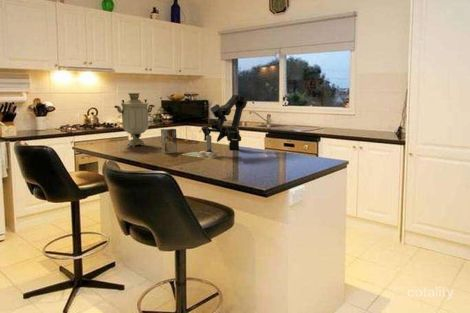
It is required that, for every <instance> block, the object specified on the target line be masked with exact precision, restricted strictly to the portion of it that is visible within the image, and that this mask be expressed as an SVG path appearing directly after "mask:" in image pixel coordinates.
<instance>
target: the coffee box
mask: <svg viewBox="0 0 470 313" xmlns="http://www.w3.org/2000/svg"><path fill="white" fill-rule="evenodd" d="M160 134H161V136H160V137H161V153H163V154H171V153H172V154H173V153H178V142H177V141H178V138H177V129H176V128H163V129H160Z"/></svg>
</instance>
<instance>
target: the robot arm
mask: <svg viewBox="0 0 470 313" xmlns="http://www.w3.org/2000/svg"><path fill="white" fill-rule="evenodd" d="M247 104H248V98H246V97H244V96H242V95H239V94H232V95H231V97H230V99H229V100H228V101H227V102H226V103H225V104H223V105H221V106H220V104H217V103H216V104H215V105H213V106H212V107H211V108H210V111H211V113H212V115H213V117H214V118H209V119H208V125H210V126H208V125H207V126H206V125H203V126H202V127H201V128H200V130H201V131H202V132H203V134H204V138H203V141H204V142H206V136H208V135H210V134H211V132H212V133H219V134H218V137H217V139H216V142H220V141H221V140H222V139H224V138H226V140H227V142H229V143H228V148H229V150H230V151H239V150H240V142H241V141H242V136H241V135H240V130H239V126H240V122H241V117H242V113H243V110H244V109H245V108H246V107H247ZM234 106H235V110H234V113H233V119H232V123H231V125H230V127H228V126H224V124H225V122H227V117H226V116H230V114H231V112H232V108H234Z"/></svg>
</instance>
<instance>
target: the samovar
mask: <svg viewBox="0 0 470 313" xmlns="http://www.w3.org/2000/svg"><path fill="white" fill-rule="evenodd" d="M127 94H128V95H129V98H130V99H129V100H127V101H125V99H122V100H121V102H120V104H121V106H120V105H114V106H113V107H114V108H115V109H116V110H117V112H118V113H119V114H121V121H122V129H123V130H124V132H126V133H128V134H130V135H131V138H132V139H131V140H129V142H128V143H127V145H128V146H129V145H131V148H135V146H137V145H143V146H146V147H147V145H146V144H145V143H144V141H143V140H142V139H141V136H142V134H144V133H145V132H146V131H147V130H148V129H149V126H150V125H149V124H150V123H149V114H150V113H152V111H153V108H155V107H156V106H155V105H154V104H149V103H148V102H147V101H148V99H146V98H145V99H144V101H142V100H140V99H139V98H140V94H141V93H140V92H130V93H127ZM121 107H122V108H121ZM127 145H126V146H127Z"/></svg>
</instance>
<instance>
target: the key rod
mask: <svg viewBox="0 0 470 313" xmlns="http://www.w3.org/2000/svg"><path fill="white" fill-rule="evenodd" d="M205 143H206V150H207V152H212V150H213V149H212V145H213V144H212V135H210V134H209V135H208V136H206V141H205Z"/></svg>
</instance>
